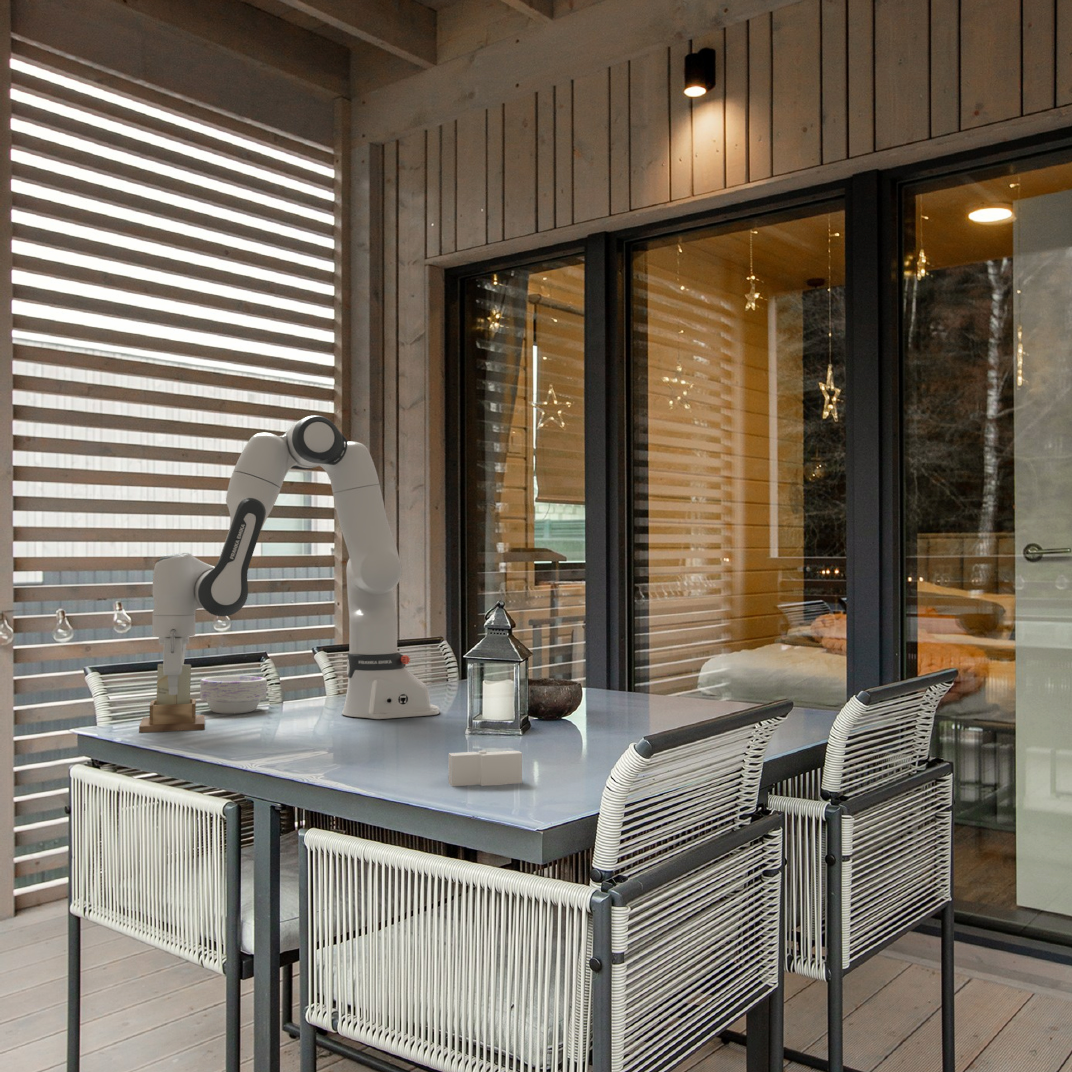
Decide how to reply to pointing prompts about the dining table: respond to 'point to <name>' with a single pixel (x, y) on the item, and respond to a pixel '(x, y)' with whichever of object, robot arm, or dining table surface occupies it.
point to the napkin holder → (485, 768)
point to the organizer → (172, 718)
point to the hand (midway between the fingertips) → (173, 692)
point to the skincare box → (183, 687)
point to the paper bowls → (233, 693)
